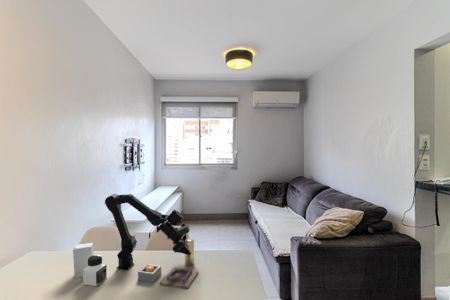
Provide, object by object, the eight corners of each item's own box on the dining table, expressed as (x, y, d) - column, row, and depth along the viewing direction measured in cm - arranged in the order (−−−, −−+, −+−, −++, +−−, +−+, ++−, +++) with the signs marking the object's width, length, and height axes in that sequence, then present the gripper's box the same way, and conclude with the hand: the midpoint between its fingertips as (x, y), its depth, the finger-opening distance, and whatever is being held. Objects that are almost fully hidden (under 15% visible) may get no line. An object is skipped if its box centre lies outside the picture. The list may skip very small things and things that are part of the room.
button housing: (138, 280, 119) (137, 271, 119) (147, 271, 127) (146, 264, 127) (153, 282, 117) (153, 273, 117) (161, 273, 125) (161, 265, 125)
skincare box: (94, 270, 128) (94, 241, 128) (92, 276, 123) (92, 246, 122) (75, 273, 126) (75, 243, 125) (73, 279, 120) (72, 248, 120)
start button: (144, 275, 121) (144, 268, 121) (148, 270, 125) (148, 265, 125) (151, 276, 120) (151, 269, 120) (155, 271, 124) (155, 266, 124)
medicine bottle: (96, 286, 114) (96, 260, 113) (83, 284, 115) (82, 259, 115) (106, 278, 121) (106, 253, 120) (94, 276, 122) (93, 252, 122)
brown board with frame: (159, 284, 115) (159, 279, 115) (172, 269, 129) (172, 265, 129) (187, 288, 112) (187, 283, 112) (198, 273, 126) (198, 268, 126)
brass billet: (183, 265, 134) (183, 241, 133) (186, 261, 138) (186, 238, 138) (192, 266, 132) (192, 242, 132) (195, 262, 137) (195, 239, 137)
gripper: (179, 226, 125) (201, 246, 126) (182, 215, 144) (201, 233, 145) (163, 242, 125) (185, 262, 126) (168, 229, 143) (187, 247, 144)
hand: (190, 250), depth 135 cm, fingers open, 9 cm apart
